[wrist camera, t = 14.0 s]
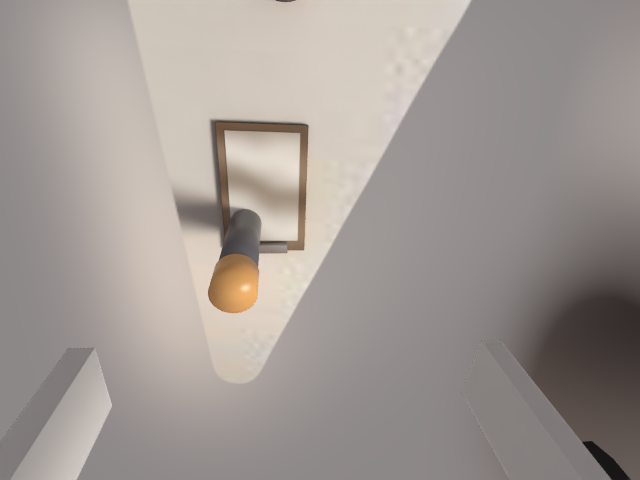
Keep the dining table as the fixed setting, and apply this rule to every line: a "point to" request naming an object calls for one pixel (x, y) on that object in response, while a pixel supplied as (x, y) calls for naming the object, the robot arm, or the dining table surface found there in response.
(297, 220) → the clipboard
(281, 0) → the supplement bottle
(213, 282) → the marker
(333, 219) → the dining table surface
